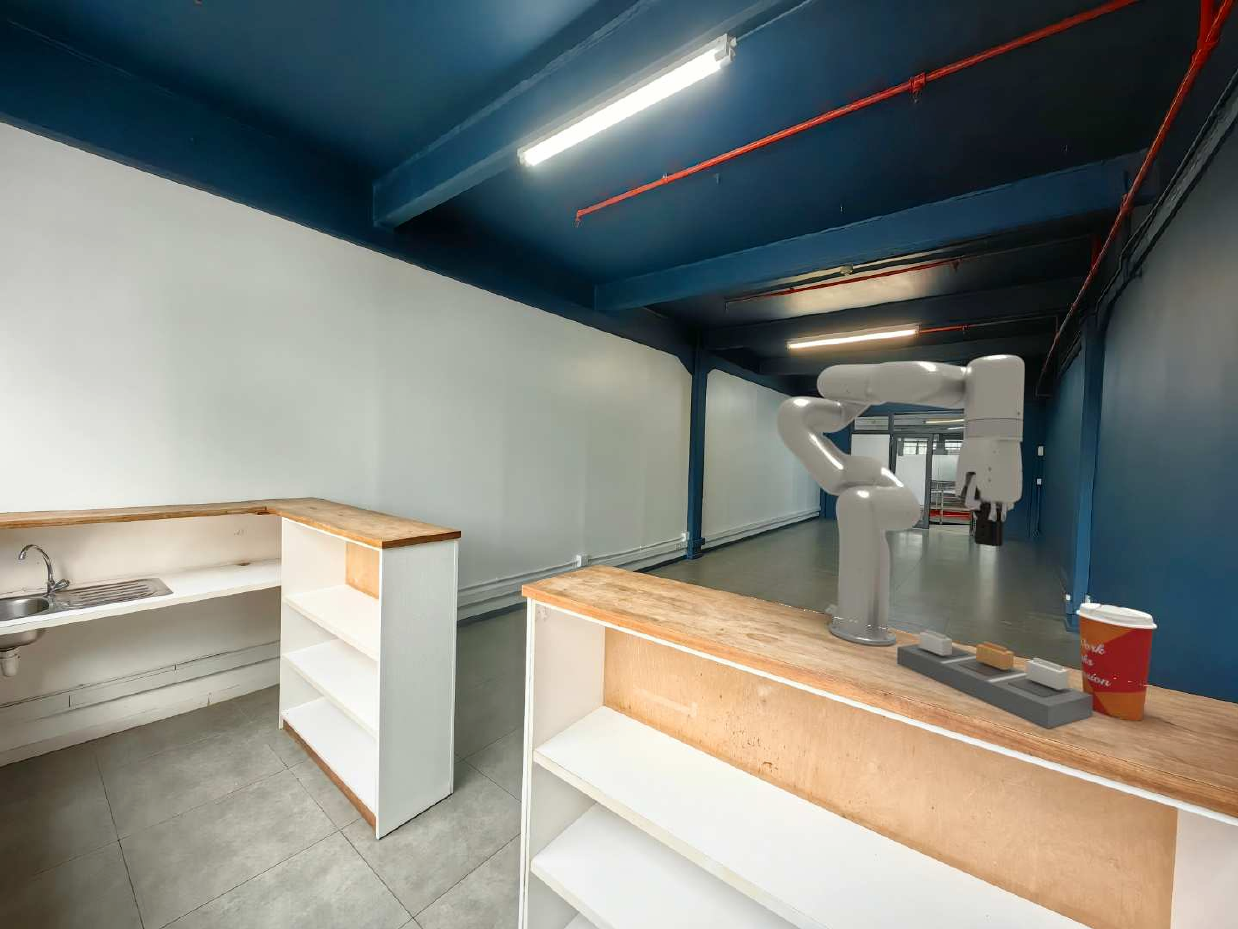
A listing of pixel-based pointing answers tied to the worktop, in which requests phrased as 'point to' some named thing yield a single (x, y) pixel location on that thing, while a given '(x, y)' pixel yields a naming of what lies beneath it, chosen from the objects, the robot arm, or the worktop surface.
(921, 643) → the switch
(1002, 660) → the switch
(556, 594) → the worktop surface
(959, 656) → the switch panel
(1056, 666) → the switch
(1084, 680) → the coffee cup
